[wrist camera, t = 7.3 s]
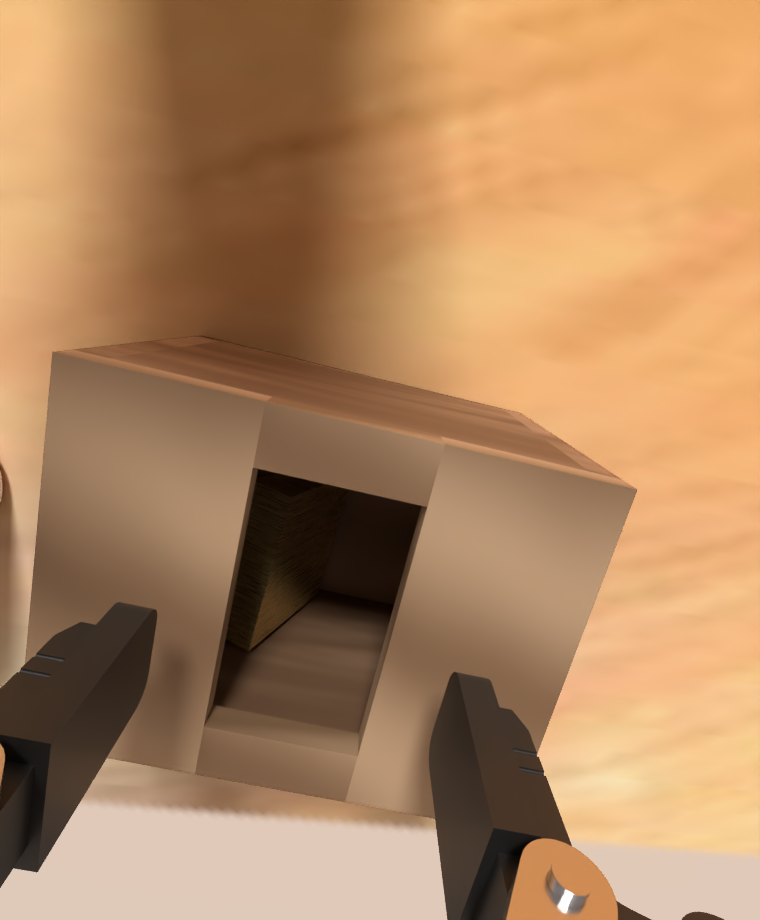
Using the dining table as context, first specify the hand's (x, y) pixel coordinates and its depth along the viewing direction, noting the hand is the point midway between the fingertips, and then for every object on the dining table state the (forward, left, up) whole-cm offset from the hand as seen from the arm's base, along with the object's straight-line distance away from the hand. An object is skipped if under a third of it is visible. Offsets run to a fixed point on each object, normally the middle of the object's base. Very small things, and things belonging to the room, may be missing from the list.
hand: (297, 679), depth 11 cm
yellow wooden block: (+4, -2, -9) cm, 10 cm away
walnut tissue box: (0, 0, -12) cm, 12 cm away
